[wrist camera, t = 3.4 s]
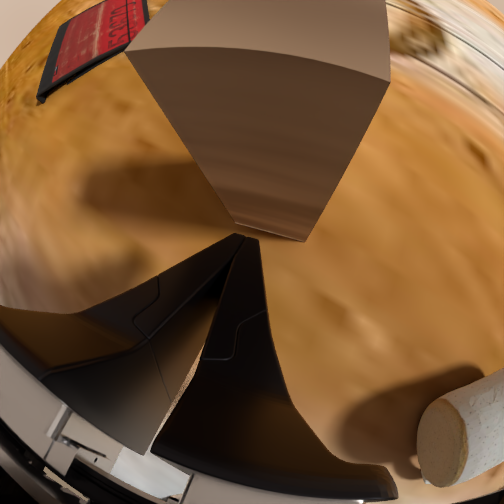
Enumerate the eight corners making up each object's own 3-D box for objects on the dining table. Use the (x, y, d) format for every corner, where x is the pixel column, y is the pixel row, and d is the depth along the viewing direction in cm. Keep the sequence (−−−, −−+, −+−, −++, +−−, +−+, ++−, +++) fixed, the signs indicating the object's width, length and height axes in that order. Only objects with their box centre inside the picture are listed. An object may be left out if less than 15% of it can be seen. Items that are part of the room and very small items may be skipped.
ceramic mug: (416, 385, 15) (477, 429, 7) (492, 356, 14) (555, 374, 6) (398, 486, 13) (429, 540, 6) (471, 455, 13) (512, 490, 5)
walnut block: (304, 242, 17) (390, 82, 3) (235, 223, 17) (124, 51, 4) (321, 177, 17) (382, -18, 3) (255, 160, 18) (213, -38, 4)
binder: (33, 97, 20) (58, 25, 23) (43, 106, 22) (63, 33, 26) (152, 29, 20) (143, -19, 23) (158, 43, 22) (147, -10, 25)
